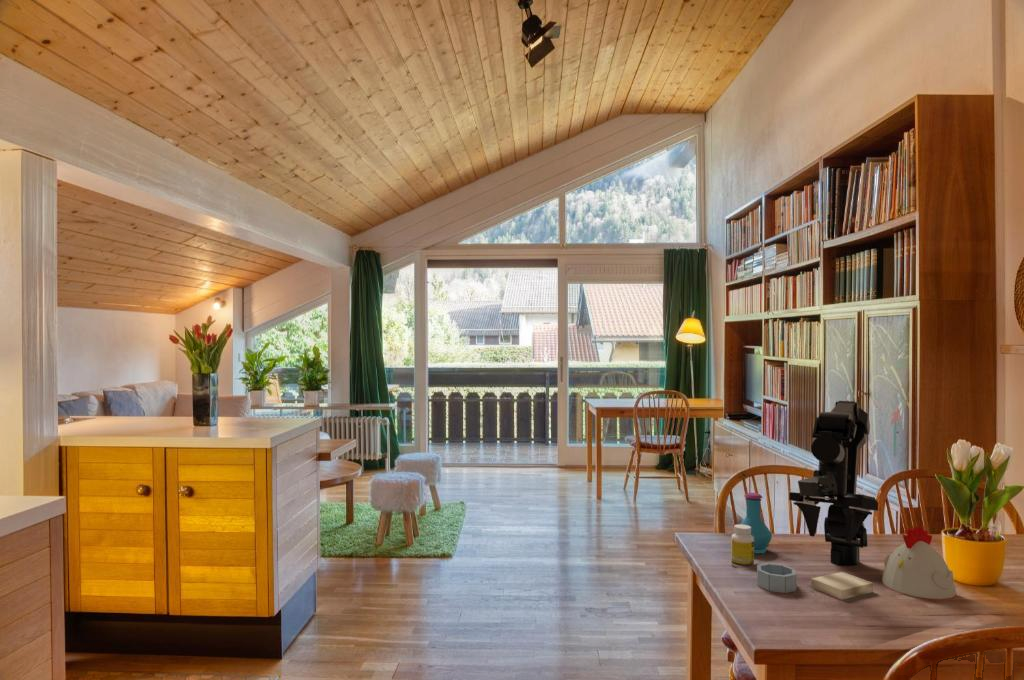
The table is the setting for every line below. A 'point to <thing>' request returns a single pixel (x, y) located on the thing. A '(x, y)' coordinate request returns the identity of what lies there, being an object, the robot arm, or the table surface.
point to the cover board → (842, 585)
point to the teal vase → (756, 523)
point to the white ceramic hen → (918, 568)
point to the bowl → (776, 577)
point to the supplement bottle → (742, 546)
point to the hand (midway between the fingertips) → (829, 539)
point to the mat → (855, 596)
